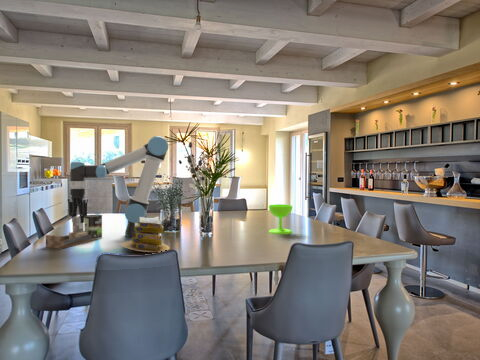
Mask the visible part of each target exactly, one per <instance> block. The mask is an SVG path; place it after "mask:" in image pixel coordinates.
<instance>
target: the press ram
mask: <svg viewBox="0 0 480 360" xmlns="http://www.w3.org/2000/svg"><path fill="white" fill-rule="evenodd" d="M79 217H80V215H79V216H78V215H77V216H76V217H73V222H72V231H70V232H68V235H69V239H72V238H76V237H80V236H85V235H88V232H86V231H84V228H82V229H79Z"/></svg>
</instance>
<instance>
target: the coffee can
mask: <svg viewBox="0 0 480 360" xmlns="http://www.w3.org/2000/svg"><path fill="white" fill-rule="evenodd" d="M83 224H84V231H86V232H88V235H89V234H92V241H93V240H95V241H96V240H101V239H103V214H87V216H85V217H84V223H83Z"/></svg>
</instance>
